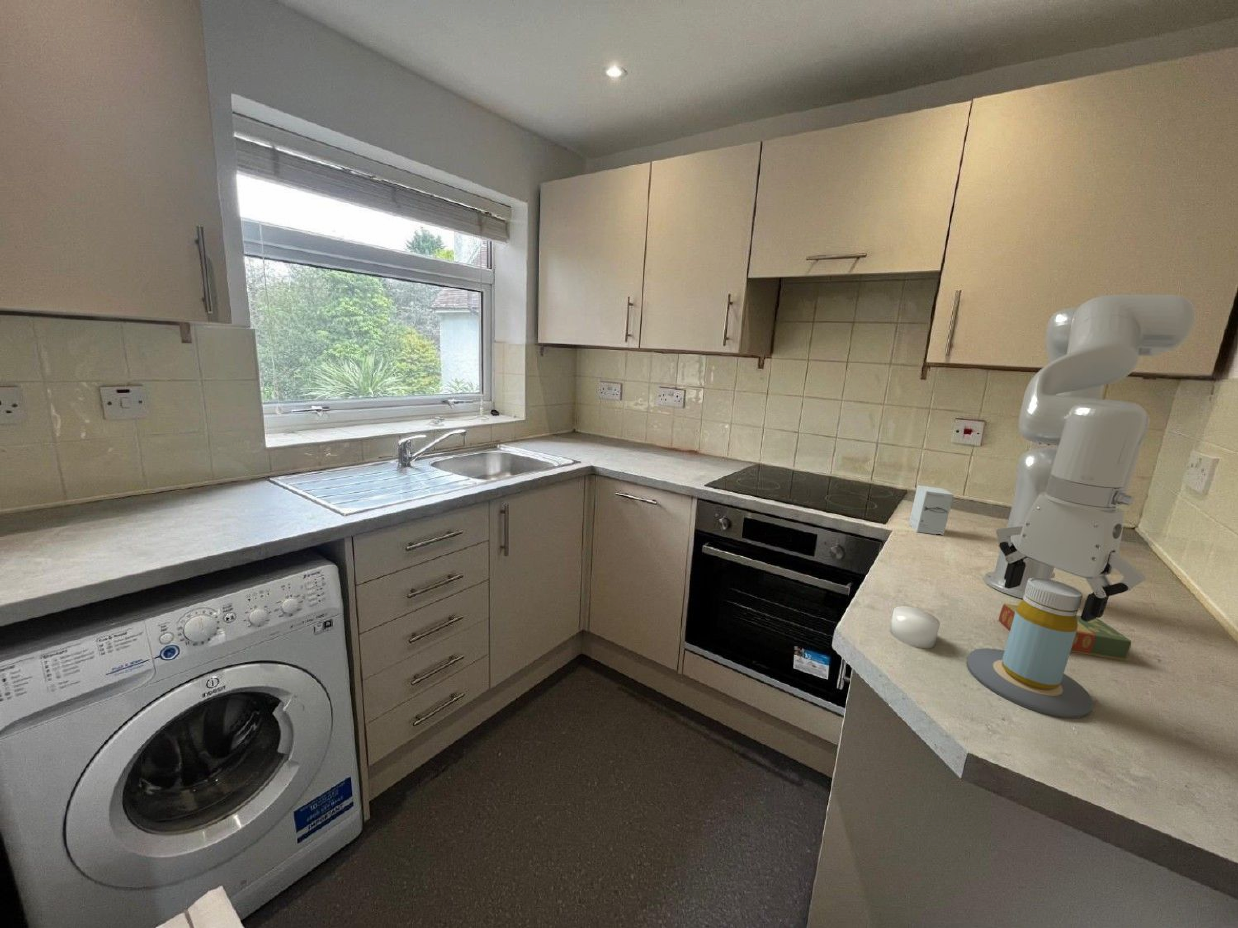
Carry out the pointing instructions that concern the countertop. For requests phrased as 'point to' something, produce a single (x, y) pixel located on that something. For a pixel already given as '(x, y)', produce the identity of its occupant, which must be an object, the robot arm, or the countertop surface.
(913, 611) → the white smooth round part
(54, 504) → the countertop surface
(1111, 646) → the carton
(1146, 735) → the countertop surface
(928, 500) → the supplement box
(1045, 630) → the bottle
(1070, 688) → the disc
